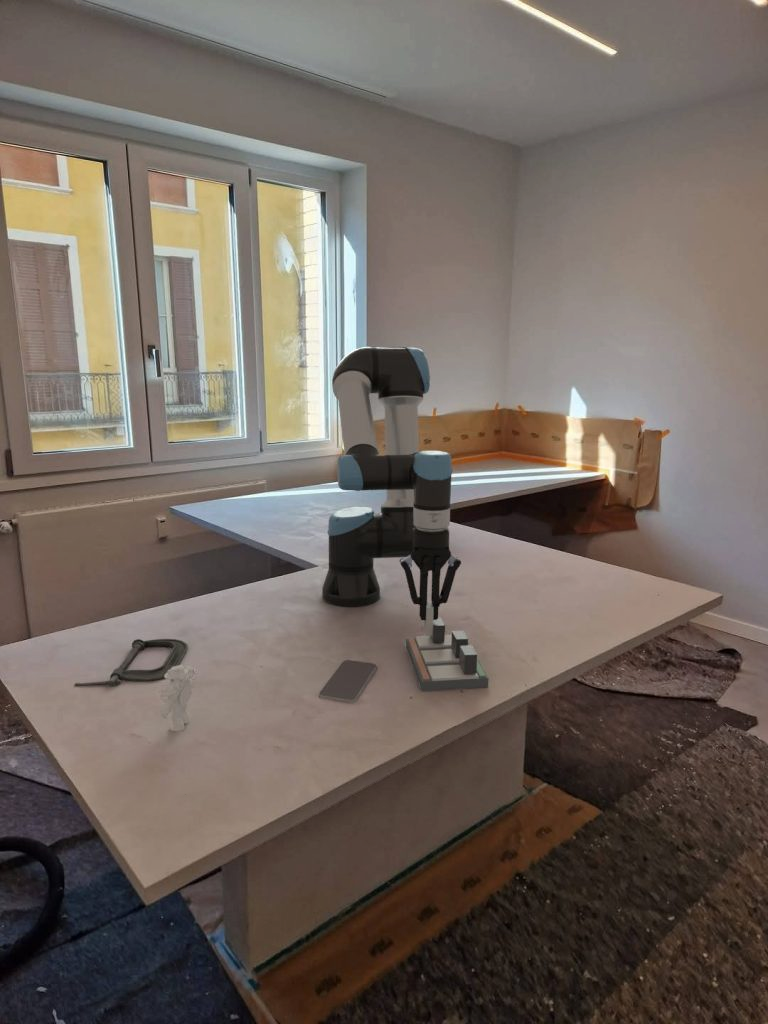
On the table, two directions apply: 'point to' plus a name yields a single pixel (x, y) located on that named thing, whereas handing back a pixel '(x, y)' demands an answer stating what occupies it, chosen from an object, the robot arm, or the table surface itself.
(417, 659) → the panel
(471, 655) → the block
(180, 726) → the hat wearing toy figure
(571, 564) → the table surface
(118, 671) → the c clamp
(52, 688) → the table surface
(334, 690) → the smartphone
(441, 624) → the block
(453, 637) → the block
